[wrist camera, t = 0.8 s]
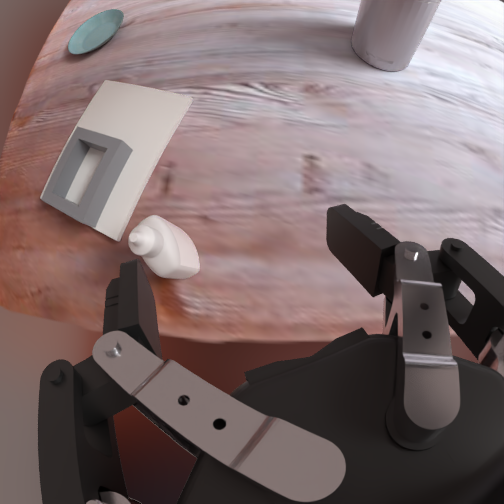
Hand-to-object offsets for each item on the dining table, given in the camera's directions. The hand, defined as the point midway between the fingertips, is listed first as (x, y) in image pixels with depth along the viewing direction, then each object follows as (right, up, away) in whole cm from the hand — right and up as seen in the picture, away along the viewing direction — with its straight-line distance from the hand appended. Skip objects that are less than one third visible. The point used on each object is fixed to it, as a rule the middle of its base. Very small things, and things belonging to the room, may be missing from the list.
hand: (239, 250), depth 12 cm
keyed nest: (-18, +14, +23) cm, 32 cm away
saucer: (-27, +39, +27) cm, 55 cm away
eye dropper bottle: (-7, 0, +21) cm, 22 cm away
